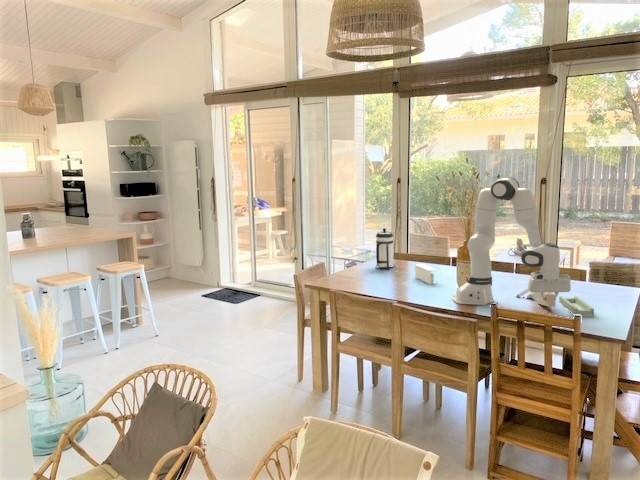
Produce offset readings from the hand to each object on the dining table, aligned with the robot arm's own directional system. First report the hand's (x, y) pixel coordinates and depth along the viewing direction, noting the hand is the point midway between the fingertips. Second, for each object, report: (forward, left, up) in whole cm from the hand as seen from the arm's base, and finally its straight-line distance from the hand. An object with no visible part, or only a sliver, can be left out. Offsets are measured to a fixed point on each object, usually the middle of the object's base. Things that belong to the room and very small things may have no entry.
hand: (548, 300), depth 254 cm
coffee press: (-85, +100, -6) cm, 131 cm away
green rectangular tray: (+14, +1, -6) cm, 15 cm away
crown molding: (+4, +33, -6) cm, 34 cm away
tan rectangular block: (0, +3, -4) cm, 5 cm away
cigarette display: (-58, +64, -6) cm, 86 cm away
